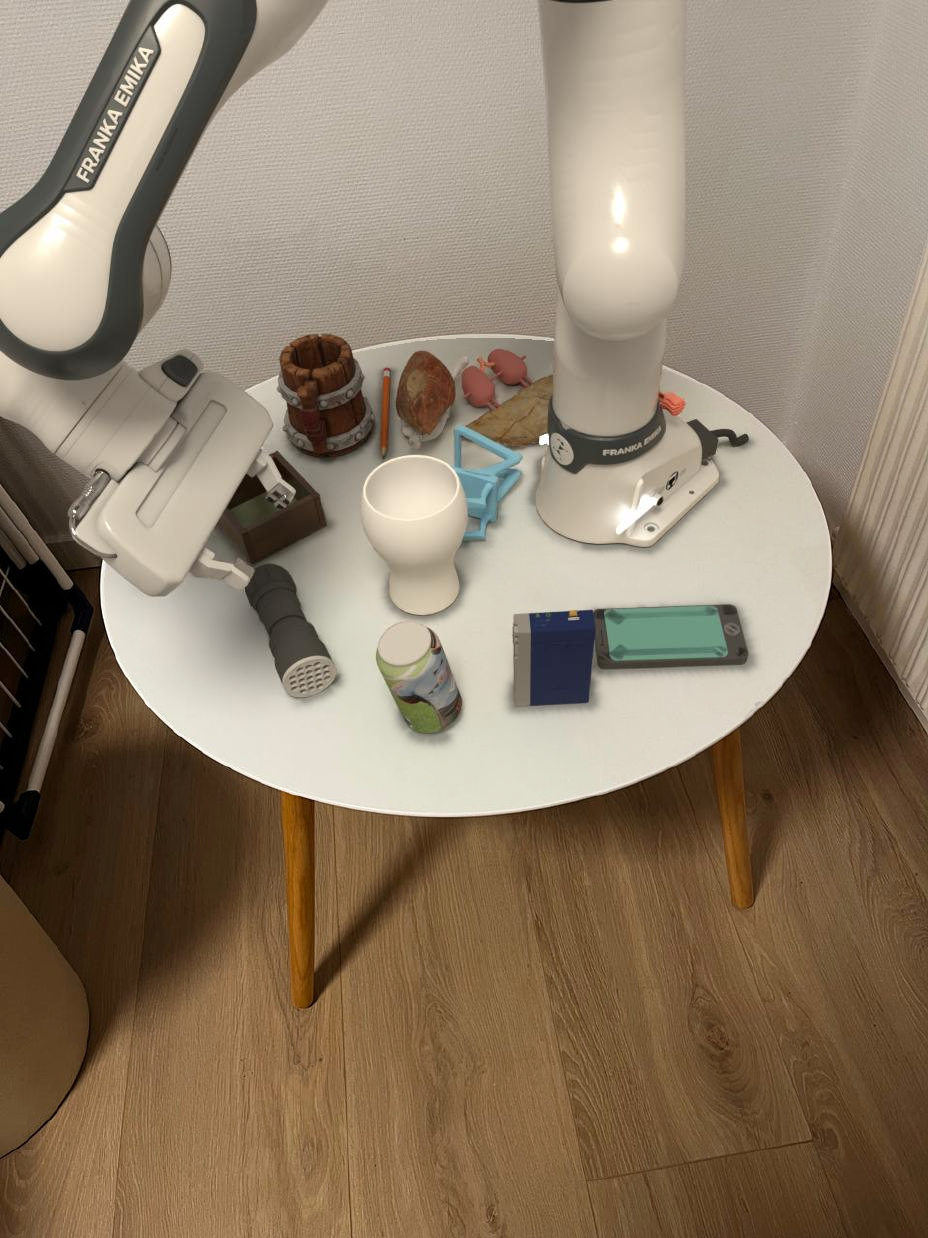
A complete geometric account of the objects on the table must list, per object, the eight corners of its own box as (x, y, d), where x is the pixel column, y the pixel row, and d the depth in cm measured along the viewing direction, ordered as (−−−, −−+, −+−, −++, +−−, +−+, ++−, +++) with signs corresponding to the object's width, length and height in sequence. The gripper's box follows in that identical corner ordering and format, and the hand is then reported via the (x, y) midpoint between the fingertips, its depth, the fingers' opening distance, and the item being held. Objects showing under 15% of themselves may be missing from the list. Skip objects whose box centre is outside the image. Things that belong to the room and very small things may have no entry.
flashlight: (246, 602, 100) (234, 568, 95) (292, 584, 101) (282, 551, 97) (289, 704, 90) (278, 672, 86) (340, 684, 92) (331, 651, 88)
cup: (456, 634, 95) (446, 533, 83) (362, 615, 97) (340, 514, 86) (484, 562, 101) (479, 459, 90) (395, 546, 104) (379, 443, 92)
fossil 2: (441, 343, 116) (485, 407, 116) (392, 383, 119) (435, 446, 119) (411, 334, 104) (460, 405, 104) (357, 379, 107) (405, 449, 107)
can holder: (285, 481, 112) (277, 450, 108) (327, 525, 107) (319, 494, 103) (212, 517, 108) (201, 486, 105) (251, 565, 103) (241, 534, 99)
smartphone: (750, 657, 90) (599, 662, 90) (747, 664, 91) (598, 669, 91) (735, 601, 94) (591, 606, 95) (733, 608, 95) (591, 613, 96)
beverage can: (470, 729, 88) (464, 654, 78) (397, 749, 86) (381, 676, 77) (452, 679, 91) (444, 602, 82) (382, 698, 90) (366, 622, 81)
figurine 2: (538, 385, 124) (504, 347, 124) (547, 371, 121) (512, 332, 121) (477, 428, 119) (442, 388, 119) (485, 414, 116) (448, 373, 116)
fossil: (644, 398, 117) (642, 409, 118) (566, 358, 123) (565, 369, 124) (533, 475, 107) (533, 485, 108) (455, 427, 113) (456, 438, 115)
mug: (381, 395, 121) (364, 307, 108) (373, 480, 114) (354, 397, 101) (295, 397, 122) (268, 310, 109) (282, 481, 115) (251, 399, 102)
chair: (520, 488, 110) (488, 558, 103) (456, 472, 111) (420, 539, 104) (524, 439, 103) (490, 510, 97) (456, 423, 105) (418, 491, 98)
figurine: (468, 356, 120) (442, 434, 108) (471, 382, 123) (446, 461, 111) (417, 356, 122) (386, 434, 110) (421, 382, 125) (391, 460, 113)
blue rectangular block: (586, 683, 90) (593, 606, 81) (589, 703, 89) (597, 626, 79) (512, 687, 90) (511, 611, 81) (514, 707, 89) (513, 631, 80)
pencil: (384, 372, 125) (390, 372, 125) (380, 461, 113) (387, 461, 113) (383, 367, 125) (389, 367, 125) (379, 456, 113) (386, 456, 113)
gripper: (71, 507, 61) (239, 621, 67) (197, 336, 73) (330, 444, 79) (40, 544, 65) (200, 648, 71) (164, 376, 78) (292, 476, 83)
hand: (269, 539), depth 75 cm, fingers open, 8 cm apart
